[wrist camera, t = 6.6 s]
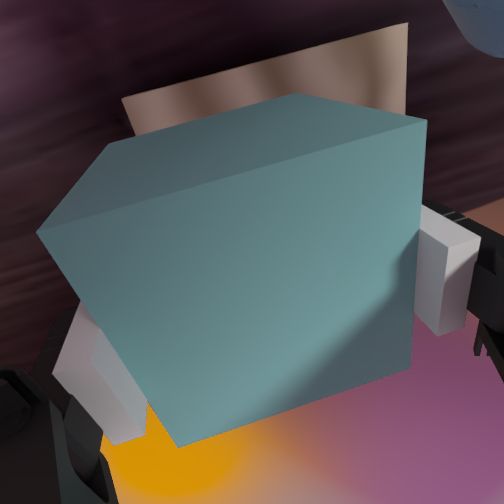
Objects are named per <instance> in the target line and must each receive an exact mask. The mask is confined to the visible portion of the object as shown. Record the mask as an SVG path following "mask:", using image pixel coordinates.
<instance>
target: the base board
mask: <svg viewBox="0 0 504 504" xmlns="http://www.w3.org/2000/svg"><path fill="white" fill-rule="evenodd" d="M407 36H408V23H403V24H397V25H394V26H390V27H386V28H382V29H379V30H375V31H371V32H367V33H364V34H360V35H356V36H352V37H349V38H345V39H341V40H337V41H334V42H330V43H326V44H322V45H319V46H315V47H311V48H307V49H304V50H300V51H296V52H292V53H289V54H285V55H281V56H277V57H274V58H270V59H266V60H262V61H259V62H255V63H251V64H247V65H243V66H240V67H236V68H232V69H228V70H225V71H221V72H217V73H213V74H210V75H206V76H202V77H198V78H195V79H191V80H187V81H183V82H180V83H176V84H172V85H168V86H165V87H161V88H157V89H153V90H150V91H146V92H142V93H138V94H135V95H131V96H127V97H124V98H122V99H121V100H122V102H123V105H124V107H125V110H126V112H127V115H128V117H129V120H130V122H131V125H132V127H133V130H134V132H135V135H136V136H138V135H142V134H146V133H149V132H153V131H157V130H160V129H164V128H168V127H171V126H175V125H179V124H182V123H186V122H190V121H193V120H197V119H201V118H204V117H208V116H212V115H215V114H219V113H223V112H226V111H230V110H234V109H237V108H241V107H245V106H248V105H252V104H256V103H259V102H263V101H267V100H270V99H274V98H278V97H281V96H285V95H289V94H292V93H296V92H297V93H301V94H306V95H311V96H316V97H321V98H325V99H330V100H335V101H340V102H344V103H349V104H354V105H359V106H364V107H368V108H373V109H378V110H383V111H387V112H392V113H397V114H402V115H405V101H406V68H407Z"/></svg>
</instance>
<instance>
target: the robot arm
mask: <svg viewBox="0 0 504 504" xmlns="http://www.w3.org/2000/svg"><path fill="white" fill-rule="evenodd" d="M442 1H443V2H444V4H445V6H446V8H447V9H448V11H449V13H450V14H451V16H452V18H453V19H454V21H455V23H456V24H457V26H458V28H459V30H460V31H461V33H462V35H463V36H464V37H465V39H466V40H467V41H468V42H469V43H470V44H471V45H472V46H474V47H475V48H476V49H478V50H480V51H481V52H483V53H486V54H488V55H491V56H494V57H499V58H504V0H442ZM467 310H469V311H470V312H471V313H472V314H474V315H475V316H476V317H477V318H479V319H480V320H479V324H478V329H477V333H476V338H475V343H474V348H473V349H474V355H475V356H480V352H481V348H482V344H484V345H485V348H486V349H487V356H490V357H491V359H492V361H493V363H494V365H495V367H496V369H497V371H498V373H499V375H500V376H501V378H502V380H503V382H504V236H503V235H501V234H499V233H497V232H495V231H493V230H491V229H489V228H487V227H485V226H483V225H481V224H479V223H477V222H475V221H473V220H471V219H469V218H467V219H466V217H465V216H464V215H462V214H460V213H458V212H456V213H455V212H454V210H452V209H450V208H448V207H446V206H444V205H442V204H439V203H435V202H431V201H426V200H422V205H421V219H420V228H419V239H418V254H417V269H416V284H415V299H414V313H415V314H416V315H417V316H418V317H419V318H420V319H421V320H422V321H423V322H424V323H425V324H426V325H427V326H428V327H429V328H430V329H431V330H432V331H433V332H434V333H435V334H436V336H440V335H443V334H446V333H448V332H452V331H455V330H458V329H461V328H464V326H465V321H466V315H467ZM41 351H42V353H40V354H39V356H38V358H37V361H36V363H35V365H34V367H33V369H32V371H31V374H30V375H29V374H28V373H27V372H26V370H25V369H24V368H23V367H22V366H19V365H15V364H11V365H5V366H1V367H0V504H119V503H118V499H117V495H116V491H115V488H114V484H113V480H112V476H111V473H110V469H109V465H108V462H107V460H106V459H105V457H104V456H103V454H102V453H101V452H100V446H101V441H102V436H103V434H104V435H105V436H106V437H107V438H108V439H109V441H110V442H111V443H112V444H113V445H117V444H120V443H123V442H126V441H129V440H132V439H135V438H138V437H141V436H144V435H145V428H146V415H147V401H148V400H147V398H146V397H145V395H144V394H143V392H142V391H141V389H140V388H139V386H138V385H137V383H136V382H135V380H134V379H133V377H132V376H131V374H130V373H129V371H128V370H127V368H126V366H125V365H124V363H123V362H122V360H121V359H120V357H119V356H118V354H117V353H116V351H115V350H114V348H113V347H112V345H111V344H110V342H109V341H108V339H107V338H106V336H105V334H104V333H103V331H102V330H101V328H99V327H98V326H97V324H96V323H95V321H94V320H93V318H92V316H91V315H90V313H89V312H88V310H87V309H86V307H85V306H84V304H83V303H82V301H80V303H79V306H78V307H74V308H71V309H68V310H65V312H64V313H63V314H62V315H61V316H60V317H59V318H58V319H57V321H56V322H55V323H54V324H53V326H52V328H51V330H50V332H49V334H48V337H47V341H45V343H44V345H43V348H42V350H41Z"/></svg>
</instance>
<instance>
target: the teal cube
mask: <svg viewBox="0 0 504 504" xmlns="http://www.w3.org/2000/svg"><path fill="white" fill-rule="evenodd" d="M426 131H427V120H426V119H421V118H416V117H411V116H407V115H402V114H397V113H392V112H387V111H383V110H378V109H373V108H368V107H364V106H359V105H354V104H349V103H344V102H340V101H335V100H330V99H325V98H321V97H316V96H311V95H306V94H301V93H297V92H296V93H292V94H289V95H285V96H281V97H278V98H274V99H270V100H267V101H263V102H259V103H256V104H252V105H248V106H245V107H241V108H237V109H234V110H230V111H226V112H223V113H219V114H215V115H212V116H208V117H204V118H201V119H197V120H193V121H190V122H186V123H182V124H179V125H175V126H171V127H168V128H164V129H160V130H157V131H153V132H149V133H146V134H142V135H138V136H135V137H131V138H127V139H124V140H120V141H116V142H113V143H109V144H108V145H107V146H106V147H105V149H104V150H103V151H102V152H101V153H100V155H99V156H98V157H97V158H96V160H95V161H94V162H93V163H92V164H91V166H90V167H89V168H88V169H87V171H86V172H85V173H84V174H83V175H82V177H81V178H80V179H79V180H78V181H77V183H76V184H75V185H74V186H73V188H72V189H71V190H70V191H69V192H68V194H67V195H66V196H65V197H64V199H63V200H62V201H61V202H60V203H59V205H58V206H57V207H56V208H55V210H54V211H53V212H52V213H51V214H50V216H49V217H48V218H47V219H46V220H45V222H44V223H43V224H42V225H41V227H40V228H39V229H38V230H37V231H36V233H37V235H38V236H39V238H40V239H41V241H42V242H43V244H44V245H45V247H46V248H47V250H48V251H49V253H50V254H51V256H52V257H53V259H54V260H55V262H56V263H57V265H58V266H59V268H60V269H61V271H62V272H63V274H64V276H65V277H66V279H67V280H68V282H69V283H70V285H71V286H72V288H73V289H74V291H75V292H76V294H77V295H78V297H79V298H80V300H81V301H82V303H83V304H84V306H85V307H86V309H87V310H88V312H89V313H90V315H91V316H92V318H93V320H94V321H95V323H96V324H97V326H98V327H99V328H101V330H102V331H103V333H104V334H105V336H106V338H107V339H108V341H109V342H110V344H111V345H112V347H113V348H114V350H115V351H116V353H117V354H118V356H119V357H120V359H121V360H122V362H123V363H124V365H125V366H126V368H127V370H128V371H129V373H130V374H131V376H132V377H133V379H134V380H135V382H136V383H137V385H138V386H139V388H140V389H141V391H142V392H143V394H144V395H145V397H146V398H147V400H148V403H149V404H150V406H151V407H152V409H153V411H154V412H155V414H156V415H157V417H158V418H159V420H160V421H161V423H162V424H163V426H164V427H165V429H166V430H167V432H168V433H169V435H170V436H171V438H172V439H173V441H174V442H175V444H176V445H177V447H178V448H180V447H182V446H186V445H188V444H191V443H194V442H197V441H200V440H203V439H206V438H209V437H212V436H215V435H217V434H221V433H223V432H226V431H229V430H232V429H235V428H238V427H241V426H244V425H247V424H250V423H253V422H255V421H258V420H261V419H264V418H267V417H270V416H273V415H276V414H279V413H282V412H285V411H287V410H290V409H293V408H296V407H299V406H302V405H305V404H308V403H311V402H314V401H316V400H320V399H322V398H325V397H328V396H331V395H334V394H337V393H340V392H343V391H345V390H349V389H352V388H354V387H357V386H360V385H363V384H366V383H369V382H372V381H375V380H378V379H381V378H383V377H387V376H389V375H392V374H395V373H398V372H401V371H404V370H407V369H410V366H411V351H412V336H413V322H414V299H415V284H416V269H417V254H418V239H419V228H420V219H421V205H422V190H423V175H424V161H425V146H426Z"/></svg>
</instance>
